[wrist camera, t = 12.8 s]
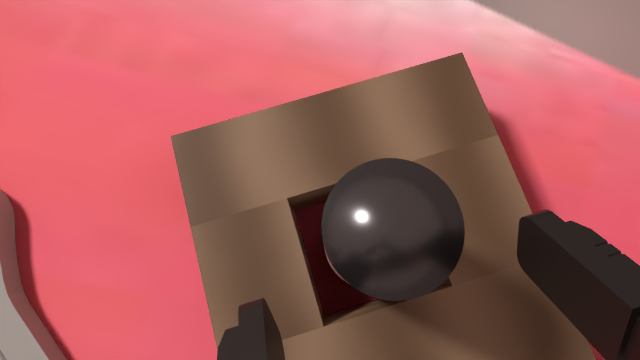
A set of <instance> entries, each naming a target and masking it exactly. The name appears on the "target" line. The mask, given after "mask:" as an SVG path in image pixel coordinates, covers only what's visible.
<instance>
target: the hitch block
mask: <svg viewBox="0 0 640 360" xmlns="http://www.w3.org/2000/svg"><path fill="white" fill-rule="evenodd" d="M171 140H172V144H173V149H174V153H175V158H176V163H177V167H178V172H179V176H180V181H181V185H182V190H183V194H184V199H185V203H186V208H187V213H188V217H189V222H190V226H191V231H192V235H193V240H194V244H195V249H196V254H197V258H198V263H199V267H200V272H201V276H202V281H203V285H204V290H205V294H206V299H207V304H208V308H209V313H210V317H211V322H212V326H213V331H214V335H215V340H216V344H217V349H218V346H219V344H220V341H221V339H222V337H223V334H224V332H225V330H226V329H229V328H232V327H235V326H238V308H239V305H242V304H245V303H248V302H252V301H255V300H258V299H261V298H264V299H265V300H266V302H267V304H268V306H269V309H270V311H271V313H272V315H273V318H274V320H275V322H276V324H277V326H278V329H279V331H280V334H281V338H282V342H283V347H284V353H285V360H596V358H595V355H594V353H593V351H592V349H591V346H590V344H589V342H588V340H587V339H586V338H585V337H584V336H583V335H582V334H581V333H580V331H579V330H578V329H577V328H576V327H575V326H574V325H573V324H572V323H571V322H570V321H569V320H568V319H567V318H566V316H565V315H564V314H563V313H562V312H561V311H560V310H559V309H558V308H557V307H556V306H555V305H554V304H553V302H552V301H551V300H550V299H549V298H548V297H547V296H546V295H545V294H544V293H543V292H542V291H541V290H540V288H539V287H538V286H537V285H536V284H535V283H534V282H533V281H532V280H531V279H530V278H529V277H528V276H527V275H526V273H525V272H524V271H523V269H522V268H521V266H520V264H519V262H518V258H517V241H518V228H519V220H520V218H521V217H524V216H527V215H530V214H533V213H532V211H531V209H530V207H529V204H528V202H527V200H526V197H525V195H524V193H523V191H522V188H521V186H520V184H519V181H518V179H517V177H516V175H515V172H514V170H513V168H512V165H511V163H510V161H509V159H508V156H507V154H506V152H505V149H504V147H503V145H502V143H501V140H500V138H499V136H498V133H497V131H496V129H495V126H494V124H493V122H492V120H491V117H490V115H489V113H488V110H487V108H486V106H485V104H484V101H483V99H482V97H481V94H480V92H479V90H478V88H477V85H476V83H475V81H474V78H473V76H472V74H471V72H470V69H469V67H468V65H467V62H466V60H465V58H464V56H463V53H459V54H455V55H452V56H448V57H445V58H441V59H438V60H434V61H431V62H427V63H424V64H420V65H417V66H414V67H410V68H407V69H403V70H400V71H396V72H393V73H389V74H386V75H382V76H379V77H375V78H372V79H368V80H365V81H361V82H358V83H354V84H351V85H348V86H344V87H341V88H337V89H334V90H330V91H327V92H323V93H320V94H316V95H313V96H309V97H306V98H302V99H299V100H295V101H292V102H288V103H285V104H282V105H278V106H275V107H271V108H268V109H264V110H261V111H257V112H254V113H250V114H247V115H243V116H240V117H236V118H233V119H229V120H226V121H222V122H219V123H216V124H212V125H209V126H205V127H202V128H198V129H195V130H191V131H188V132H184V133H181V134H177V135H174V136H171ZM382 158H399V159H405V160H409V161H412V162H415V163H418V164H420V165H423V166H424V167H426V168H428V169H430V170H431V171H433V172H434V173H435V174H437V175H438V176H439V177H440V178H441V179H442V180H443V181H444V182H445V183H446V184H447V185H448V187H449V188H450V189H451V190H452V192H453V194H454V195H455V197H456V199H457V201H458V203H459V205H460V208H461V211H462V214H463V219H464V227H465V238H464V245H463V250H462V254H461V256H460V259H459V261H458V263H457V265H456V267H455V269H454V270H453V272H452V273H451V274H450V276H449V277H448V278H447V279H446V280H445V281H444V282H443V283H442V284H441V285H440V286H438V287H437V288H436V289H435V290H433V291H431V292H429V293H428V294H426V295H423V296H420V297H418V298H414V299H410V300H403V301H388V300H382V299H377V300H374V301H371V302H368V303H365V304H361V305H358V306H355V307H352V308H349V309H346V310H342V311H339V312H336V313H333V314H330V315H327V316H325V315H324V312H323V308H322V305H321V301H320V298H319V294H318V291H317V287H316V284H315V280H314V277H313V273H312V270H311V267H310V263H309V260H308V256H307V253H306V249H305V246H304V242H303V239H302V235H301V232H300V228H299V225H298V221H297V218H296V214H295V211H296V210H299V209H302V208H306V207H309V206H312V205H316V204H319V203H322V202H326V200H327V198H328V196H329V194H330V192H331V191H332V189H333V187H334V186H335V185H336V183H337V182H338V181H339V180H340V179H341V178H342V177H343V176H344V175H345V174H346V173H347V172H349V171H350V170H352V169H353V168H355V167H357V166H359V165H361V164H363V163H365V162H368V161H371V160H376V159H382Z"/></svg>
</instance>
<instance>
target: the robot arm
mask: <svg viewBox="0 0 640 360" xmlns="http://www.w3.org/2000/svg"><path fill="white" fill-rule="evenodd" d="M517 258H518V262H519V264H520V266H521V268H522V269H523V271H524V272H525V273H526V275H527V276H528V277H529V278H530V279H531V280H532V281H533V282H534V283H535V284H536V285H537V286H538V287H539V288H540V290H541V291H542V292H543V293H544V294H545V295H546V296H547V297H548V298H549V299H550V300H551V301H552V302H553V304H554V305H555V306H556V307H557V308H558V309H559V310H560V311H561V312H562V313H563V314H564V315H565V316H566V318H567V319H568V320H569V321H570V322H571V323H572V324H573V325H574V326H575V327H576V328H577V329H578V330H579V331H580V333H581V334H582V335H583V336H584V337H585V338H586V339H587V340H588V341H589V342H590V343H591V344H592V345H593V347H594V348H595V349H596V350H597V351H598V352H599V353H600V354H601V355H602V356H603V357H604V358H605V359H606V360H640V266H639V265H638V264H637V263H635V262H634V261H633V260H631V259H630V258H629V257H627V256H626V255H625V254H621V251H619V250H618V249H617V248H615V247H614V246H613V245H611V244H608V243H607V241H606V240H605V239H604V238H602V237H601V236H600V235H598V234H597V233H596V232H594V231H593V230H592V229H590V228H587V227H585V226H582V225H580V224H578V223H575V222H573V221H568V222H564V221H563V220H562V219H561V218H559V217H558V216H557V215H555V214H554V213H553V212H551V211H549V210H543V211H540V212H537V213H533V214H530V215H527V216H524V217H521V218H520V220H519V228H518V241H517ZM217 360H285V353H284V347H283V342H282V338H281V334H280V331H279V329H278V326H277V324H276V322H275V320H274V318H273V315H272V313H271V311H270V309H269V306H268V304H267V302H266V300H265V299H264V298H261V299H258V300H255V301H252V302H248V303H245V304H242V305H239V308H238V326H235V327H232V328H229V329H226V330H225V332H224V334H223V337H222V339H221V341H220V344H219V346H218V354H217Z"/></svg>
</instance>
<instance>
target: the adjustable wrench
mask: <svg viewBox="0 0 640 360" xmlns="http://www.w3.org/2000/svg"><path fill="white" fill-rule="evenodd" d="M0 360H67V359H66V357H65V356H64V354H63V353H62V351H61V350H60V348H59V347H58V345H57V344H56V342H55V341H54V339H53V338H52V336H51V335H50V333H49V332H48V330H47V329H46V327H45V326H44V324H43V323H42V321H41V320H40V318H39V317H38V315H37V314H36V312H35V311H34V309H33V308H32V306H31V305H30V303H29V301H28V299H27V297H26V295H25V293H24V290H23V286H22V283H21V279H20V273H19V267H18V260H17V252H16V238H15V214H14V210H13V207H12V204H11V202H10V200H9V198H8V197H7V195H6V194H5V193H4V192H3V191H1V190H0Z"/></svg>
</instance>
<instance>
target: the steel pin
mask: <svg viewBox="0 0 640 360" xmlns="http://www.w3.org/2000/svg"><path fill="white" fill-rule="evenodd" d="M321 230H322V239H323V244H324V249H325V253H326V258H327V261H328V263H329V265H330V267H331V269H332V270H333V271H334V272H335V274H336V275H338V276H339V277H340V278H341V279H343V280H344V281H345V282H347V283H348V284H349V285H351V286H352V287H354V288H355V289H357V290H358V291H360V292H362V293H364V294H366V295H368V296H371V297H374V298H377V299H382V300H388V301H403V300H410V299H414V298H418V297H420V296H423V295H426V294H428V293H429V292H431V291H433V290H435V289H436V288H437V287H438V286H440V285H441V284H442V283H443V282H444V281H445V280H446V279H447V278H448V277H449V276H450V274H451V273H452V272H453V270H454V269H455V267H456V265H457V263H458V261H459V259H460V256H461V254H462V250H463V245H464V238H465V227H464V219H463V214H462V211H461V208H460V205H459V203H458V201H457V199H456V197H455V195H454V194H453V192H452V190H451V189H450V188H449V187H448V185H447V184H446V183H445V182H444V181H443V180H442V179H441V178H440V177H439V176H438V175H437V174H435V173H434V172H433V171H431V170H430V169H428V168H426V167H424V166H423V165H420V164H418V163H415V162H412V161H409V160H405V159H399V158H382V159H376V160H371V161H368V162H365V163H363V164H361V165H359V166H357V167H355V168H353V169H352V170H350V171H349V172H347V173H346V174H345V175H344V176H343V177H342V178H341V179H340V180H339V181H338V182H337V183H336V185H335V186H334V187H333V189H332V191H331V192H330V194H329V196H328V198H327V200H326V203H325V206H324V209H323V215H322V226H321Z"/></svg>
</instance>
